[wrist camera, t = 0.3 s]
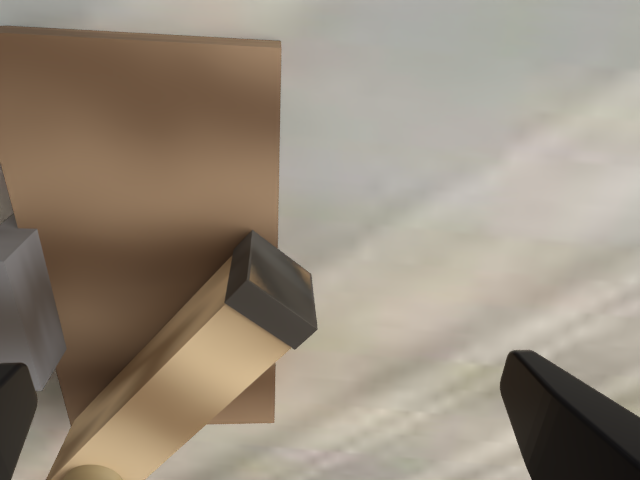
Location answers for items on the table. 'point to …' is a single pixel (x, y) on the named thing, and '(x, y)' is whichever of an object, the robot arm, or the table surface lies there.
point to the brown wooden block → (128, 193)
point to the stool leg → (193, 366)
